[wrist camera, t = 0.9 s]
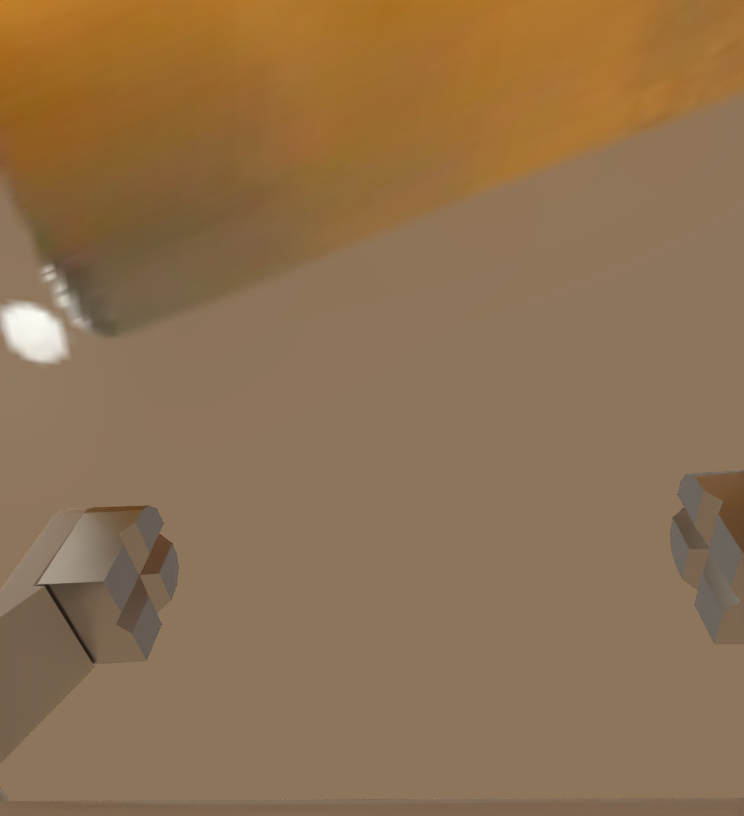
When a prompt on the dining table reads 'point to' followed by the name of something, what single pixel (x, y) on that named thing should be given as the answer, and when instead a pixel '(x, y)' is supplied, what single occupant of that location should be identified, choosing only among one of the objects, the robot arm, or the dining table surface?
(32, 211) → the dining table surface
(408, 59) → the dining table surface
